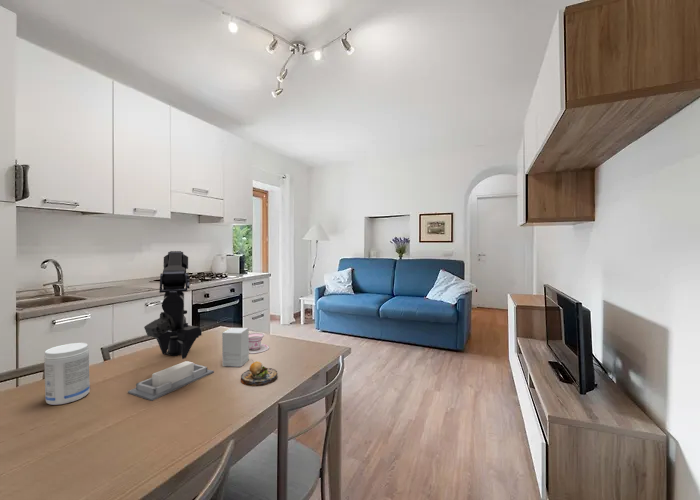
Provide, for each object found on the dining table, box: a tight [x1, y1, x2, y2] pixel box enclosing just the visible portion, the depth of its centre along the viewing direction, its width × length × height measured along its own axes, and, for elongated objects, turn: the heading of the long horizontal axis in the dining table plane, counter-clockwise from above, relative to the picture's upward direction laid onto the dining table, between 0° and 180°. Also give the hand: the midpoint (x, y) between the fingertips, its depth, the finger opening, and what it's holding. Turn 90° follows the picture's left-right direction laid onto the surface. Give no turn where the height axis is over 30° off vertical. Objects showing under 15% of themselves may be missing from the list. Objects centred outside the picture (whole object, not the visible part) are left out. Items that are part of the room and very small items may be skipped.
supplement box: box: [221, 327, 250, 368], centre depth 118 cm, size 7×7×13 cm
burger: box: [240, 359, 278, 387], centre depth 105 cm, size 12×12×8 cm
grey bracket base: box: [127, 363, 215, 402], centre depth 101 cm, size 11×22×2 cm, turn 156°
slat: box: [151, 360, 195, 388], centre depth 101 cm, size 4×12×4 cm, turn 156°
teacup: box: [249, 332, 270, 355], centre depth 134 cm, size 12×12×6 cm
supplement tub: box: [43, 342, 91, 406], centre depth 90 cm, size 10×10×15 cm
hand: (174, 356), depth 101 cm, fingers open, 9 cm apart
